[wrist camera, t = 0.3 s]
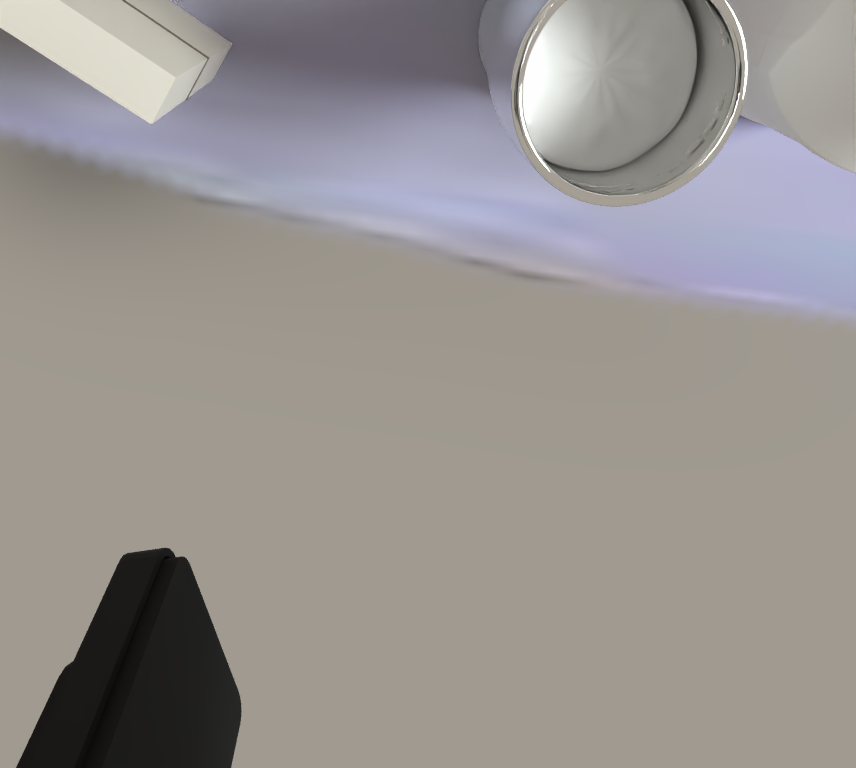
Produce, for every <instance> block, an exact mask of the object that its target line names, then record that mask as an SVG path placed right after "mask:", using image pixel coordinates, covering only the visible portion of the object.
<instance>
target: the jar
mask: <svg viewBox="0 0 856 768" xmlns="http://www.w3.org/2000/svg"><path fill="white" fill-rule="evenodd" d="M729 2H730V3H731V5H732V6H733V8H734V10H735V12H736V13H737V15H738V18H739V20H740V22H741V25H742V28H743V31H744V34H745V38H746V43H747V49H748V59H749V75H748V85H747V91H746V96H745V100H744V104H743V107H742V110H741V113H740V115H741V116H743V117H745V118H747V119H749V120H751V121H754V122H757V123H760V124H763V125H766V126H768V127H769V128H771V129H773V130H775V131H777V132H779V133H781V134H783V135H785V136H787V137H789V138H791V139H793V140H795V141H796V142H798V143H800V144H801V145H803V146H804V147H805V148H807V149H808V150H809V151H811V152H812V153H814V154H815V155H817V156H819V157H820V158H822V159H824V160H826V161H828V162H830V163H832V164H834V165H836V166H838V167H840V168H842V169H845V170H847V171H850V172H853V173H856V0H729Z"/></svg>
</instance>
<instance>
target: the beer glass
mask: <svg viewBox="0 0 856 768" xmlns="http://www.w3.org/2000/svg"><path fill="white" fill-rule="evenodd" d="M478 46H479V53H480V57H481V61H482V64H483V67H484V69H485V71H486V73H487V75H488V84H489V90H490V95H491V98H492V102H493V105H494V108H495V111H496V114H497V116H498V119H499V121H500V123H501V125H502V127H503V129H504V131H505V132H506V134H507V135H508V137H509V138H510V140H511V141H512V143H513V144H514V146H515V147H516V148H517V150H518V151H519V152H520V153H521V154H522V155H523V157H524V158H525V159H526V160H527V161H528V162H529V163H530V164H531V165H532V166H533V167H534V168H535V169H536V171H537V172H538V173H539V174H540V175H541V176H542V177H543V178H544V179H545V180H546V181H547V182H548V183H550V184H551V185H552V186H553V187H555V188H556V189H558V190H559V191H561V192H562V193H564V194H566V195H568V196H570V197H572V198H575V199H577V200H580V201H583V202H586V203H590V204H594V205H600V206H611V207H621V206H631V205H638V204H642V203H646V202H650V201H653V200H656V199H658V198H661V197H663V196H666V195H668V194H670V193H672V192H674V191H675V190H677V189H679V188H681V187H682V186H684V185H685V184H687V183H688V182H689V181H691V180H692V179H693V178H695V177H696V176H697V175H698V174H699V173H701V172H702V171H703V170H704V169H705V168H706V167H707V166H708V165H709V164H710V163H711V162H712V160H713V159H714V158H715V157H716V156H717V154H718V153H719V152H720V151H721V149H722V148H723V146H724V145H725V143H726V142H727V140H728V139H729V137H730V135H731V133H732V131H733V129H734V128H735V125H736V123H737V121H738V118H739V116H740V113H741V110H742V107H743V104H744V100H745V96H746V91H747V85H748V75H749V59H748V49H747V43H746V38H745V34H744V31H743V28H742V25H741V22H740V20H739V18H738V15H737V13H736V12H735V10H734V8H733V6H732V5H731V3H730V2H729V0H486V2H485V5H484V7H483V10H482V13H481V17H480V21H479V28H478Z"/></svg>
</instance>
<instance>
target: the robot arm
mask: <svg viewBox="0 0 856 768" xmlns="http://www.w3.org/2000/svg"><path fill="white" fill-rule="evenodd" d="M240 721H241V700H240V695H239V692H238V689H237V686H236V684H235V681H234V679H233V676H232V673H231V671H230V668H229V665H228V663H227V660H226V657H225V655H224V652H223V650H222V647H221V645H220V642H219V639H218V637H217V634H216V631H215V629H214V626H213V623H212V621H211V618H210V616H209V613H208V610H207V608H206V606H205V603H204V600H203V597H202V595H201V592H200V589H199V587H198V584H197V582H196V579H195V576H194V574H193V571H192V569H191V566H190V564H189V562H188V560H187V559H186V558H185V557H175V555H174V553H173V552H172V551H171V550H170V549H169V548H161V549H155V550H147V551H140V552H133V553H127V554H125V555H123V556H122V558H121V559H120V561H119V563H118V565H117V567H116V570H115V572H114V574H113V576H112V578H111V581H110V583H109V585H108V587H107V589H106V591H105V594H104V596H103V598H102V600H101V602H100V604H99V607H98V609H97V611H96V613H95V615H94V618H93V620H92V622H91V624H90V626H89V629H88V631H87V633H86V635H85V637H84V639H83V641H82V644H81V646H80V648H79V650H78V652H77V655H76V657H75V659H74V661H73V662H71V663H70V664H69V665H67V666H66V667H65V668H64V670H63V671H62V673H61V675H60V676H59V678H58V680H57V682H56V684H55V686H54V688H53V690H52V693H51V695H50V697H49V699H48V701H47V703H46V705H45V707H44V710H43V712H42V714H41V716H40V718H39V720H38V722H37V724H36V727H35V729H34V731H33V733H32V735H31V738H30V739H29V741H28V744H27V746H26V748H25V750H24V752H23V754H22V757H21V759H20V761H19V763H18V765H17V767H16V768H231V765H232V760H233V755H234V750H235V746H236V741H237V736H238V732H239V727H240Z"/></svg>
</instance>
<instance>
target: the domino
mask: <svg viewBox="0 0 856 768" xmlns="http://www.w3.org/2000/svg"><path fill="white" fill-rule="evenodd" d="M0 28H2V29H3V30H5V31H6V32H8V33H9V34H11V35H13V36H14V37H16V38H17V39H19V40H20V41H22V42H23V43H25V44H27V45H28V46H30V47H31V48H33V49H34V50H36V51H38V52H39V53H41V54H42V55H44V56H45V57H47V58H48V59H50V60H52V61H53V62H55V63H56V64H58V65H59V66H61V67H63V68H64V69H66V70H67V71H69V72H70V73H72V74H73V75H75V76H77V77H78V78H80V79H81V80H83V81H84V82H86V83H88V84H89V85H91V86H92V87H94V88H95V89H97V90H99V91H100V92H102V93H103V94H105V95H106V96H108V97H109V98H111V99H113V100H114V101H116V102H117V103H119V104H120V105H122V106H124V107H125V108H127V109H128V110H130V111H131V112H133V113H134V114H136V115H138V116H139V117H141V118H142V119H144V120H145V121H147V122H149V123H150V124H153V123H154V122H155V121H157V120H158V119H159V118H161V117H162V116H164V115H165V114H166V113H168V112H169V111H171V110H172V109H173V108H175V107H176V106H177V105H179V104H180V103H182V102H183V101H184V100H187V99H188V97H190V96H191V95H193V94H194V93H195V92H197V91H198V90H200V89H201V88H202V87H204V86H205V85H206V84H208V83H209V82H211V81H212V80H213V79H214V77H215V75H216V73H217V72H218V70H219V68H220V66H221V64H222V62H223V61H224V59H225V57H226V55H227V53H228V51H229V50H230V48H231V46H232V43H231V42H229V41H228V40H227V39H225V38H224V37H222V36H221V35H219V34H218V33H216V32H215V31H214V30H212V29H211V28H209V27H208V26H206V25H205V24H203V23H202V22H201V21H199V20H198V19H196V18H195V17H193V16H192V15H190V14H189V13H188V12H186V11H185V10H183V9H182V8H180V7H179V6H177V5H176V4H175V3H173V2H172V1H170V0H0Z"/></svg>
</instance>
